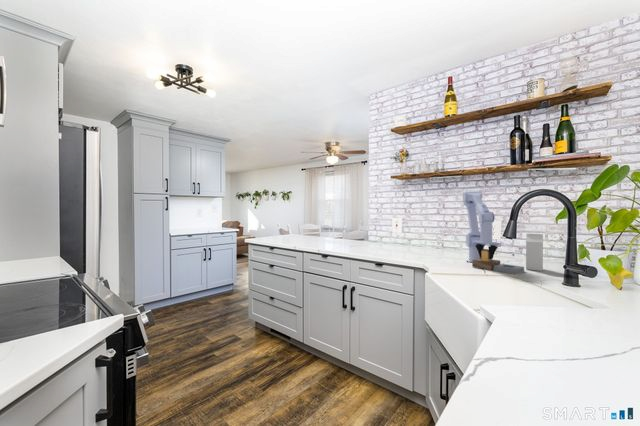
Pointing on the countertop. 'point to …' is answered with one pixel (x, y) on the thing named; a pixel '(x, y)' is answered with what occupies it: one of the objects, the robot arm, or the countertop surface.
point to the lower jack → (509, 268)
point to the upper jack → (485, 263)
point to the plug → (485, 255)
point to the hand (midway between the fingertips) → (486, 258)
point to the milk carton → (534, 252)
